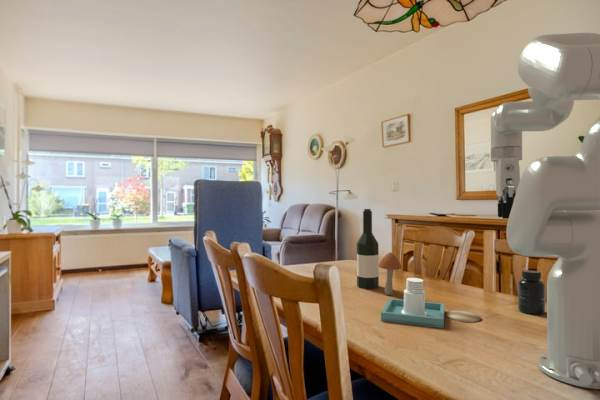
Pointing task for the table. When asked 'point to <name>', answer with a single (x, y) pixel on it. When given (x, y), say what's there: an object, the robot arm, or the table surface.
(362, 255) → the wine bottle
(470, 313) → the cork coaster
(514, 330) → the table surface
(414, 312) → the downlight
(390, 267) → the mushroom
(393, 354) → the table surface
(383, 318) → the tray
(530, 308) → the supplement bottle
